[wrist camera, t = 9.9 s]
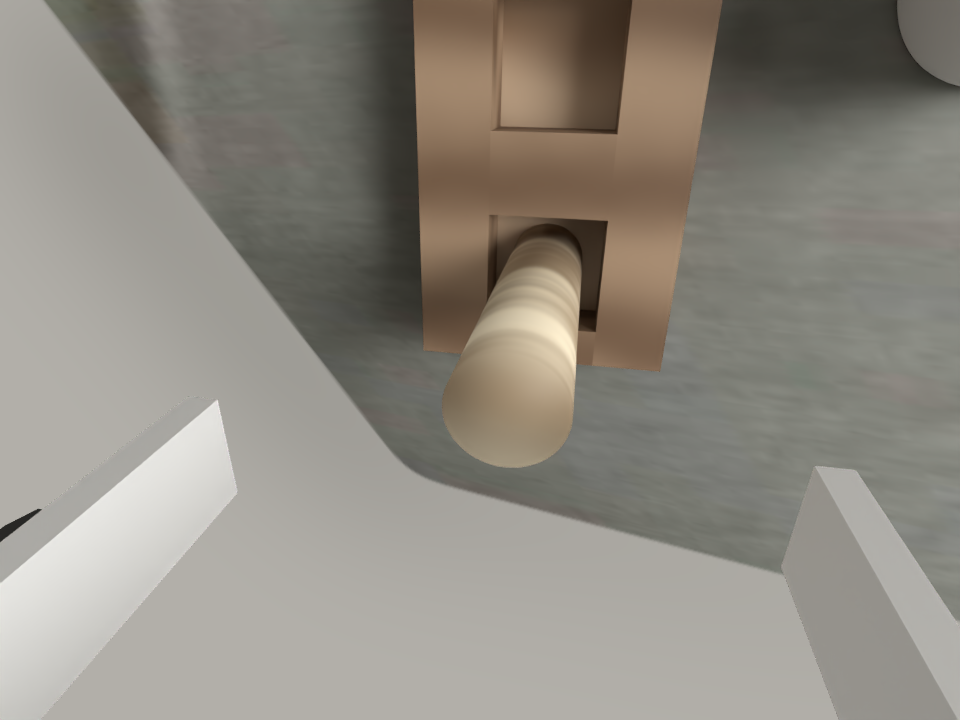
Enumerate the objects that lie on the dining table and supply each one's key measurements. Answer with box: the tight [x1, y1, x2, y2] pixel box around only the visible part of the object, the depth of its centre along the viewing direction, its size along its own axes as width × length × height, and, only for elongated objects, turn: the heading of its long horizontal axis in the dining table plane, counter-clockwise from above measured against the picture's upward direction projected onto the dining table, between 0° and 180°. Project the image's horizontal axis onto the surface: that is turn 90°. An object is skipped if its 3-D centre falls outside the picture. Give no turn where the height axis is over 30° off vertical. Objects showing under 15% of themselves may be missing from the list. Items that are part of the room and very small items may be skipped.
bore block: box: [413, 0, 723, 372], centre depth 27 cm, size 18×12×4 cm, turn 179°
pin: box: [442, 223, 582, 468], centre depth 23 cm, size 4×4×16 cm
